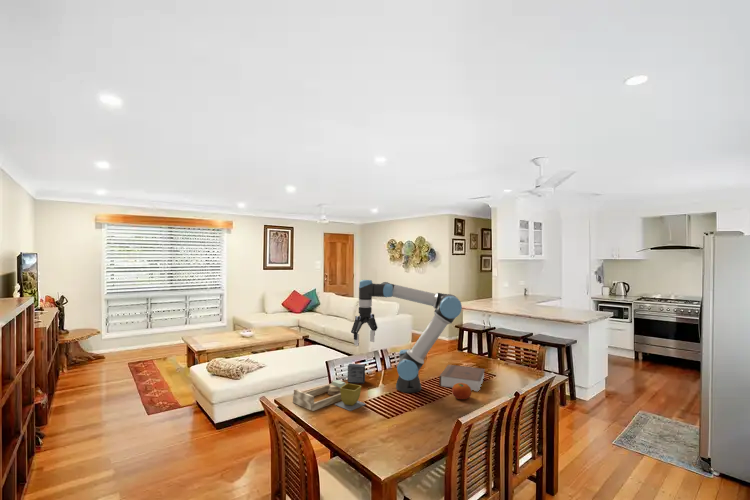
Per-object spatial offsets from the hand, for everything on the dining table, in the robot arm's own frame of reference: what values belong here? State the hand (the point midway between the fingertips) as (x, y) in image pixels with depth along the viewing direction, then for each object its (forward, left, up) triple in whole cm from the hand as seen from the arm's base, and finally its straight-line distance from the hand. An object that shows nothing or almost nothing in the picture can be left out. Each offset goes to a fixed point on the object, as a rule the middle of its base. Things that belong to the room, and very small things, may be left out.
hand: (364, 343), depth 219 cm
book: (-32, -59, -29) cm, 74 cm away
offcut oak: (+10, +11, -26) cm, 30 cm away
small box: (+17, -12, -29) cm, 36 cm away
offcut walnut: (+9, +10, -29) cm, 32 cm away
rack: (+10, +21, -29) cm, 37 cm away
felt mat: (-6, +17, -29) cm, 34 cm away
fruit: (-45, -33, -29) cm, 63 cm away
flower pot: (-6, +17, -28) cm, 34 cm away
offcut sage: (+9, +11, -24) cm, 28 cm away
